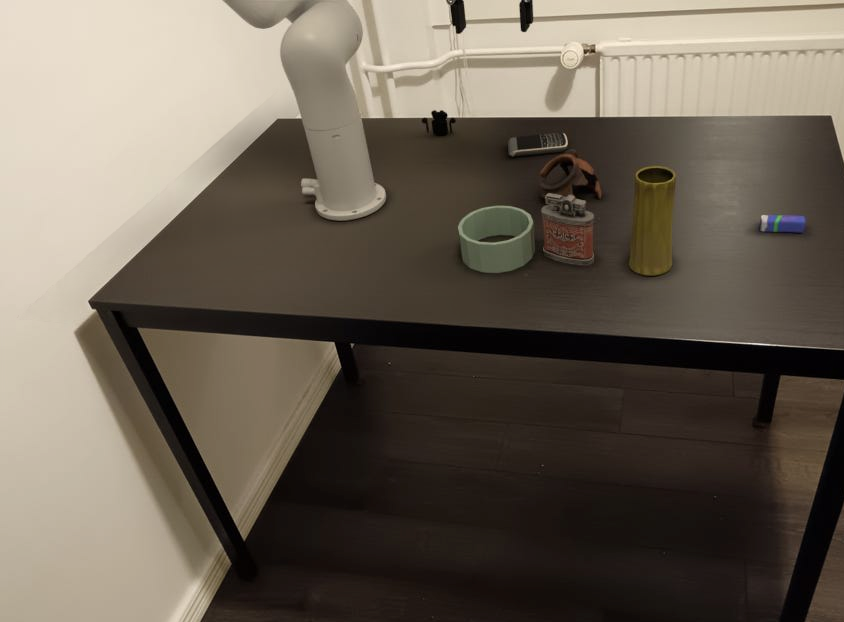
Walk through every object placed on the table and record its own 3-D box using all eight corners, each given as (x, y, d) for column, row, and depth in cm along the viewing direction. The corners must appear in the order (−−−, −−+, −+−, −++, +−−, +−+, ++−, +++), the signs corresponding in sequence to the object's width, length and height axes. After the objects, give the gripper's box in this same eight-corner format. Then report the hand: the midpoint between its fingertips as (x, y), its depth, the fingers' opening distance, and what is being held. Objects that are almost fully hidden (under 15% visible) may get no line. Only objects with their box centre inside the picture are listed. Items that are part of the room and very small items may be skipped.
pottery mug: (607, 209, 123) (584, 177, 118) (556, 231, 128) (532, 201, 122) (602, 160, 130) (580, 127, 125) (554, 182, 135) (531, 151, 129)
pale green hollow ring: (453, 270, 114) (449, 242, 111) (472, 231, 122) (469, 204, 119) (525, 275, 111) (523, 246, 108) (540, 235, 119) (539, 207, 116)
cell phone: (568, 152, 140) (568, 145, 139) (509, 158, 140) (508, 151, 139) (565, 138, 144) (565, 131, 143) (507, 144, 145) (507, 137, 144)
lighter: (597, 256, 112) (598, 196, 106) (588, 268, 110) (587, 207, 104) (549, 245, 116) (546, 186, 110) (539, 256, 114) (536, 197, 108)
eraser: (759, 225, 114) (761, 213, 113) (802, 227, 112) (804, 215, 111) (759, 232, 112) (761, 220, 111) (803, 234, 111) (805, 222, 110)
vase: (663, 280, 106) (669, 188, 97) (621, 271, 109) (624, 181, 100) (678, 258, 110) (685, 168, 101) (638, 250, 112) (642, 161, 103)
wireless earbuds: (423, 136, 152) (419, 112, 149) (426, 131, 154) (423, 107, 151) (456, 136, 151) (453, 112, 147) (459, 131, 152) (456, 106, 149)
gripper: (552, -118, 99) (556, 19, 110) (428, -107, 103) (443, 23, 114) (541, -106, 93) (547, 37, 104) (410, -96, 98) (429, 40, 109)
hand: (493, 30), depth 109 cm, fingers open, 9 cm apart
